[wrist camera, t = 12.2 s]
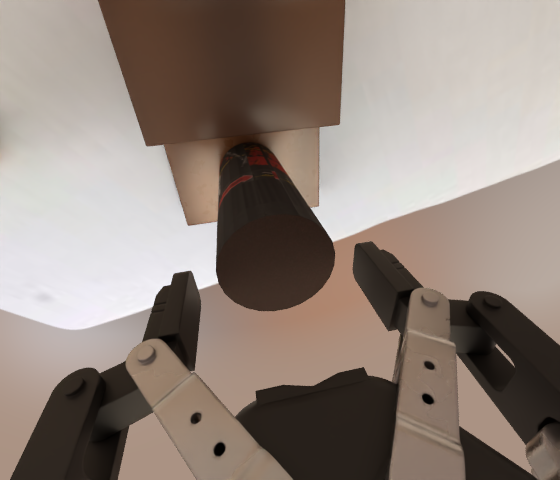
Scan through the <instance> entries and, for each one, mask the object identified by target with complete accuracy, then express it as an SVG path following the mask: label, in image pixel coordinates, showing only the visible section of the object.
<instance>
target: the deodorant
mask: <svg viewBox="0 0 560 480" xmlns="http://www.w3.org/2000/svg"><path fill="white" fill-rule="evenodd" d="M334 261H335V251H334V247H333V243H332V240H331V239H330V237H329V236H328V234H327V232H326V231H325V229H324V228H323V226H322V225H321V223H320V222H319V220H318V219H317V217H316V216H315V214H314V213H313V212H312V210H311V209H310V207H309V206H308V204H307V203H306V201H305V200H304V198H303V197H302V195H301V194H300V192H299V191H298V189H297V188H296V186H295V185H294V183H293V182H292V180H291V179H290V177H289V176H288V174H287V173H286V171H285V170H284V168H283V167H282V165H281V164H280V162H279V161H278V159H277V158H276V156H275V155H274V153H273V152H272V151H271V150H269V149H268V148H267V147H265V146H263V145H261V144H258V143H253V142H248V143H241V144H239V145H236V146H234V147H233V148H231V149H230V150H229V151H228V152H227V153H226V154H225V156H224V157H223V159H222V161H221V164H220V168H219V188H218V222H217V255H216V273H217V278H218V282H219V285H220V286H221V288H222V289H223V291H224V293H225V294H226V295H227V296H228V297H229V298H230V299H232V300H233V301H234V302H235V303H237V304H240V305H241V306H244V307H246V308H249V309H254V310H258V311H277V310H283V309H288V308H291V307H293V306H296V305H299V304H301V303H303V302H304V301H306V300H307V299H309V298H311V297H312V296H313V295H315V294H316V293H317V292H318V291H319V290H320V289H321V288H322V287H323V286H324V284H325V283H326V282H327V280H328V279H329V277H330V275H331V272H332V270H333V267H334Z"/></svg>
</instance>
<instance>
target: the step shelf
mask: <svg viewBox="0 0 560 480" xmlns="http://www.w3.org/2000/svg"><path fill="white" fill-rule="evenodd" d="M98 2H99V5H100V8H101V11H102V14H103V17H104V20H105V23H106V26H107V29H108V32H109V35H110V38H111V41H112V44H113V47H114V50H115V53H116V56H117V59H118V62H119V65H120V68H121V71H122V74H123V77H124V80H125V83H126V86H127V89H128V92H129V95H130V98H131V101H132V104H133V107H134V110H135V113H136V116H137V119H138V122H139V125H140V128H141V132H142V135H143V138H144V141H145V144H146V146H155V145H164V147H165V150H166V154H167V157H168V160H169V164H170V167H171V170H172V174H173V177H174V181H175V184H176V187H177V191H178V194H179V197H180V201H181V204H182V207H183V211H184V214H185V218H186V221H187V224H188V226H189V225H196V224H203V223H210V222H216V221H218V188H219V168H220V164H221V161H222V159H223V157H224V156H225V154H226V153H227V152H228V151H229V150H230V149H231V148H233V147H234V146H236V145H239V144H241V143H248V142H253V143H258V144H261V145H263V146H265V147H267V148H268V149H269V150H271V151H272V152H273V153H274V155H275V156H276V158H277V159H278V161H279V162H280V164H281V165H282V167H283V168H284V170H285V171H286V173H287V174H288V176H289V177H290V179H291V180H292V182H293V183H294V185H295V186H296V188H297V189H298V191H299V192H300V194H301V195H302V197H303V198H304V200H305V201H306V203H307V204H308V206H309V207H317V206H319V127H324V126H333V125H339V124H340V107H341V84H342V62H343V40H344V17H345V0H98Z"/></svg>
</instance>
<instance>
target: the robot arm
mask: <svg viewBox="0 0 560 480" xmlns="http://www.w3.org/2000/svg"><path fill="white" fill-rule="evenodd" d="M353 261H354V262H353V274H354V278H355V280H356V282H357V283H358V285H359V286H360V288H361V289H362V291H363V292H364V294H365V296H366V297H367V299H368V300H369V302H370V303H371V305H372V307H373V308H374V309H375V311H376V313H377V314H378V316H379V317H380V319H381V321H382V322H383V323H384V325H385V327H386V328H387V330H388V331H392V330H396V329H398V331H399V332H400V333H401V334H400V338H399V344H398V349H397V356H396V362H395V369H394V374H393V379H392V382H391V381H388V380H386V379H383V378H379V377H374V376H368V375H367V373H366V371H365V369H364V367H363V368H358V369H353V370H349V371H344V372H340V373H337V374H335V375H333V376H332V377H330V378H328V379H326V380H324V381H322V382H320V383H318V384H317V385H315V386H294V385H281V386H277V387H272V388H268V389H263V390H258V391H256V401H254V402H252V403H250V404H249V405H248V406H246V407H245V408H244V409H242V410H241V411H240V412H239V413H238V414H237V415H236V417H234V416H233V415H232V413H231V412H230V411H229V410H228V409H227V408H226V407H225V406H224V404H223V403H222V402H221V401H220V400H219V399H218V398H217V396H216V395H215V394H214V393H213V392H212V391H211V390H210V388H209V387H208V386H207V385H206V384H205V383H204V382H203V380H201V378H200V377H199V376H198V375H197V374H196V373H191V372H190V371H194V370H195V362H196V352H197V341H198V331H199V322H200V311H201V300H200V295H199V292H198V289H197V286H196V282H195V279H194V276H193V273H192V272H191V271H186V272H180V273H174V275H173V278H172V282H171V285H168V286H163V288H162V289H161V290H160V291H159V293H158V294H157V295H156V298H155V301H154V306H153V308H152V311H151V312H152V314H151V315H150V318H149V321H148V324H147V328H146V331H145V334H144V338H143V341H142V343H140V344H139V345H137V346H136V347H135V348H134V349H133V350H132V351H131V352H130V354H129V355H128V357H127V359H126V361H125V362H123V363H121V364H119V365H117V366H115V367H112V368H110V369H108V370H106V371H104V372H102V373H99V372H98V371H97V370H96V369H94V368H83V369H80V370H77V371H75V372H73V373H71V374H70V375H68V376H67V377H65V378H64V379H63V380H62V381H61V382H60V383H59V384H58V385H57V386H56V387H55V389H54V390H53V392H52V394H51V396H50V398H49V400H48V402H47V404H46V406H45V408H44V410H43V412H42V415H41V417H40V418H39V421H38V423H37V425H36V427H35V429H34V431H33V433H32V435H31V437H30V440H29V441H28V443H27V446H26V448H25V450H24V452H23V454H22V456H21V458H20V460H19V462H18V464H17V466H16V468H15V471H14V472H13V475H12V477H11V479H10V480H118V475H119V471H120V466H121V461H122V457H123V452H124V447H125V443H126V438H127V433H128V429H129V425H131V424H133V423H135V422H136V421H138V420H140V419H142V418H144V417H146V416H147V415H149V414H151V413H153V412H154V413H155V415H156V417H157V418H158V420H159V421H160V423H161V425H162V426H163V428H164V429H165V431H166V432H167V434H168V436H169V437H170V439H171V440H172V442H173V443H174V445H175V446H176V448H177V450H178V451H179V453H180V454H181V456H182V457H183V459H184V461H185V462H186V464H187V466H188V467H189V469H190V470H191V472H192V473H193V475H194V477H195V478H196V480H560V345H559V344H557V343H556V342H555V341H554V340H553V339H552V338H550V337H549V336H548V335H547V334H546V333H545V332H543V331H542V330H541V329H540V328H539V327H538V326H536V325H535V324H534V323H533V322H532V321H531V320H529V319H528V318H527V317H526V316H525V315H524V314H523V313H521V312H520V311H519V310H518V309H517V308H515V307H514V306H513V305H512V304H511V303H510V302H508V301H507V300H506V299H504V298H503V297H501V296H499V295H497V294H494V293H490V292H484V291H478V292H475V293H473V294H472V295H471V297H470V299H469V301H463V300H449V299H447V298H446V297H445V296H444V295H443V294H441V293H440V292H438V291H436V290H433V289H429V288H424V287H423V286H422V285H421V284H420V283H419V282H418V281H417V280H416V279H415V278H414V277H413V276H412V275H411V274H410V272H409V271H408V270H407V269H406V268H404V266H403V265H402V264H401V263H399V261H398V260H397V259H396V257H395V256H394V255H393V254H391V253H389V252H387V251H385V250H379V249H378V247H377V246H376V245H375V244H374V243H373V242H371V241H370V242H365V243H358V244H356V245H355V250H354V260H353ZM496 344H498V346H499V347H500V348H501V349H502V350H503V351H504V352H505V353H506V354H507V355H508V356H509V358H510V359H511V360H512V362H513V363H514V366H515V367H514V366H513V365H512V364H511V363H510V362H509V361H508V360H507V359H506V358H505V356H503V354H502V353H501V352H500V351H499V350H498V349H497V348H496V347H495V345H496ZM456 354H457V355H458V356H459V358H460V359H461V360H462V362H463V363H464V364H465V365H466V367H467V368H468V370H469V371H470V372H471V373H472V375H473V376H474V377H475V379H476V380H477V381H478V383H479V384H480V385H481V387H482V388H483V389H484V390H485V392H486V393H487V395H488V396H489V397H490V398H491V400H492V401H493V402H494V404H495V405H496V406H497V408H498V409H499V410H500V412H501V413H502V414H503V416H504V417H505V418H506V420H507V421H508V422H509V423H510V425H511V426H512V427H513V429H514V430H515V431H516V433H517V434H518V435H519V436H520V438H521V439H522V441H523V442H524V443H525V445H526V457H527V460H528V462H529V464H530V466H531V467H532V469H531V472H532V475H531V474H530V473H529V472H527V471H526V470H524V469H522V468H521V467H519V466H518V465H516V464H515V463H514V462H512V461H511V460H509V459H508V458H506V457H505V456H503V455H502V454H500V453H499V452H497V451H495V450H494V449H493V448H491V447H490V446H488V445H487V444H485V443H484V442H482V441H481V440H479V439H478V438H476V437H475V436H473V435H472V434H470V433H469V432H467V431H466V430H464V429H463V428H461V427H460V426H459V413H458V388H457V362H456Z"/></svg>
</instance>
